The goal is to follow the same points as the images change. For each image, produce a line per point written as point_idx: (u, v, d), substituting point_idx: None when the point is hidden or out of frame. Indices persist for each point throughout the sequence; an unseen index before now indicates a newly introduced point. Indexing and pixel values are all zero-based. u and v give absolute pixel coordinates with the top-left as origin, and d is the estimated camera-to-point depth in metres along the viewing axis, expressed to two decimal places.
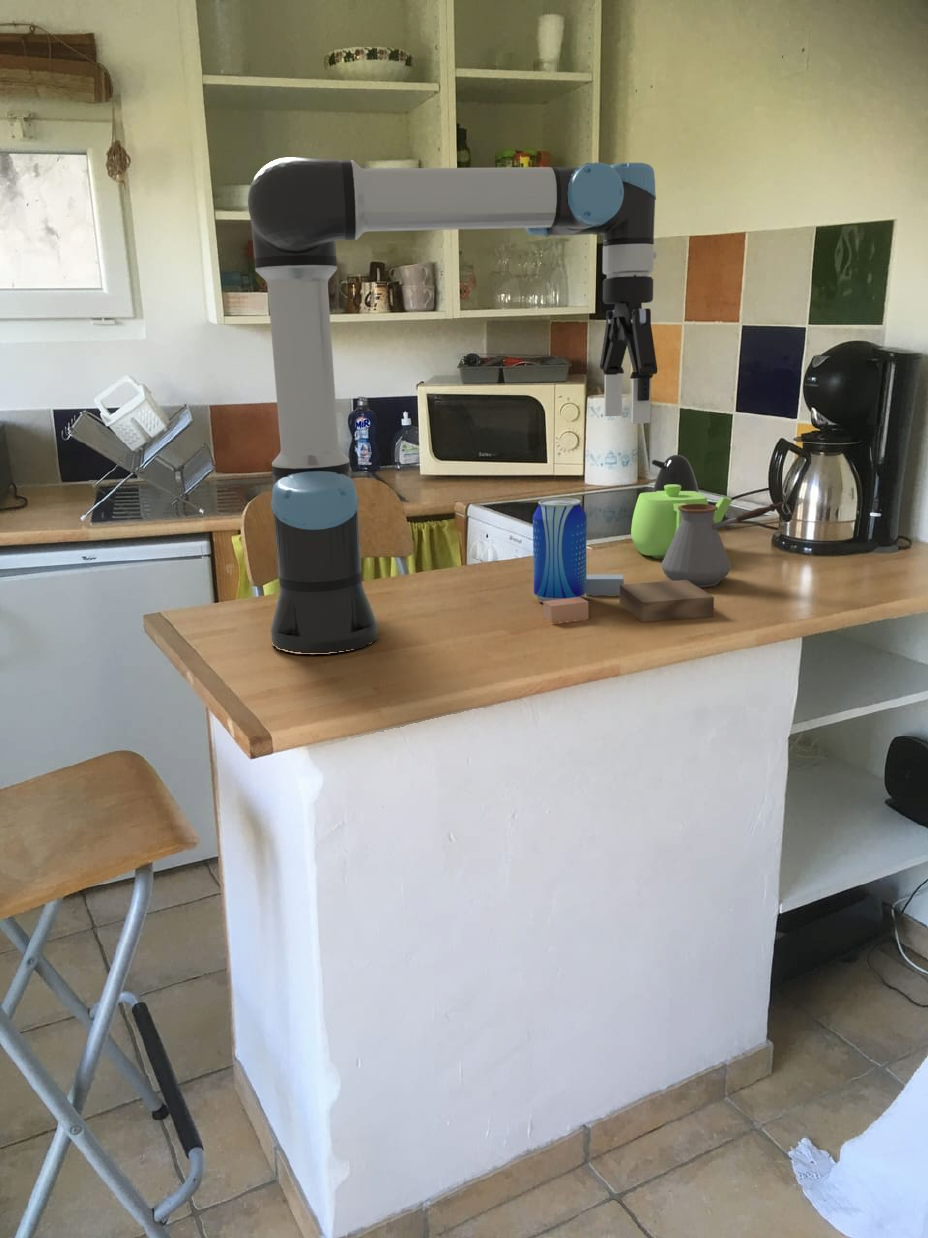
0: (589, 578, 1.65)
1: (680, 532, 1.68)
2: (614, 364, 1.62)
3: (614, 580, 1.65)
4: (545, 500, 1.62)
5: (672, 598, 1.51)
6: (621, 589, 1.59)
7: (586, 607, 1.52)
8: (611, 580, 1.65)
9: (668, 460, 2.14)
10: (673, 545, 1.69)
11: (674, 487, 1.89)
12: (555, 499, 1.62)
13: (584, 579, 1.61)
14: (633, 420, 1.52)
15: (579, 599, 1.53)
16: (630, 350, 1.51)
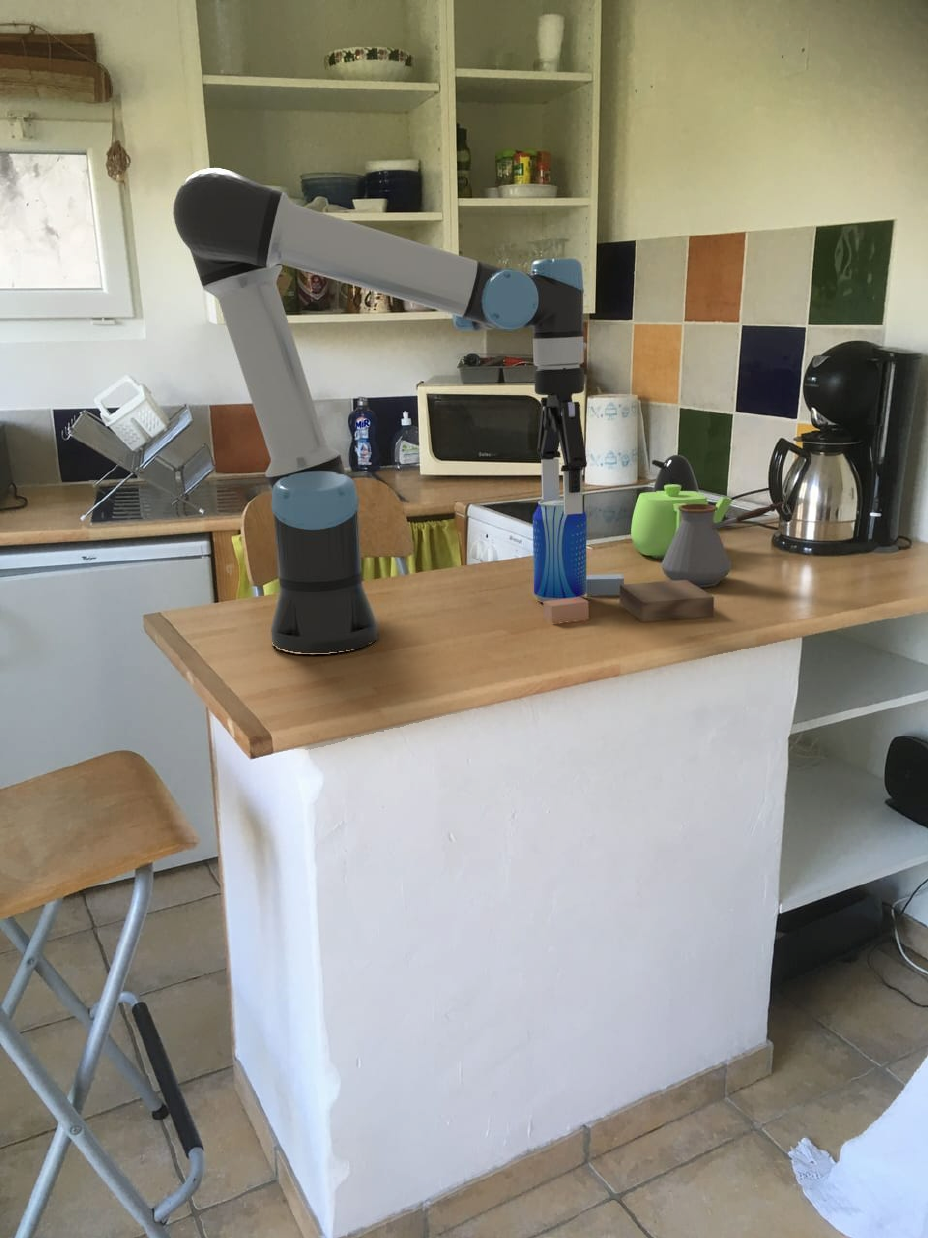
0: (589, 579, 1.65)
1: (680, 532, 1.68)
2: (550, 449, 1.63)
3: (614, 580, 1.65)
4: (545, 500, 1.62)
5: (672, 598, 1.51)
6: (621, 589, 1.59)
7: (586, 607, 1.52)
8: (611, 580, 1.65)
9: (668, 460, 2.14)
10: (673, 545, 1.69)
11: (674, 487, 1.89)
12: (555, 499, 1.62)
13: (584, 579, 1.61)
14: (565, 511, 1.53)
15: (579, 599, 1.53)
16: (561, 442, 1.52)
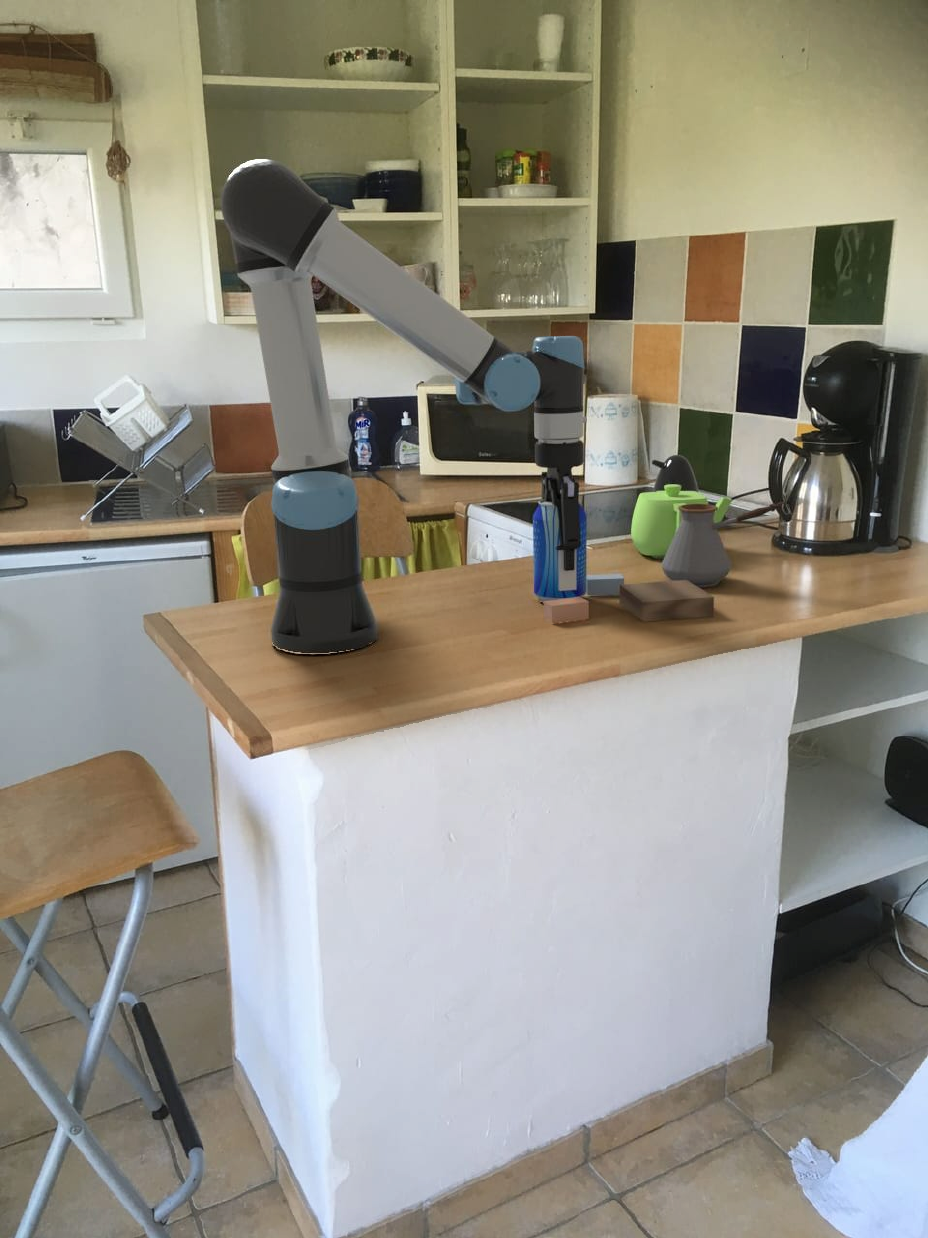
0: (590, 579, 1.65)
1: (680, 532, 1.68)
2: None
3: (615, 580, 1.65)
4: None
5: (672, 598, 1.51)
6: (621, 589, 1.59)
7: (586, 607, 1.52)
8: (612, 580, 1.65)
9: (668, 460, 2.14)
10: (673, 545, 1.69)
11: (674, 487, 1.89)
12: None
13: (584, 579, 1.61)
14: (560, 587, 1.58)
15: (579, 599, 1.53)
16: None
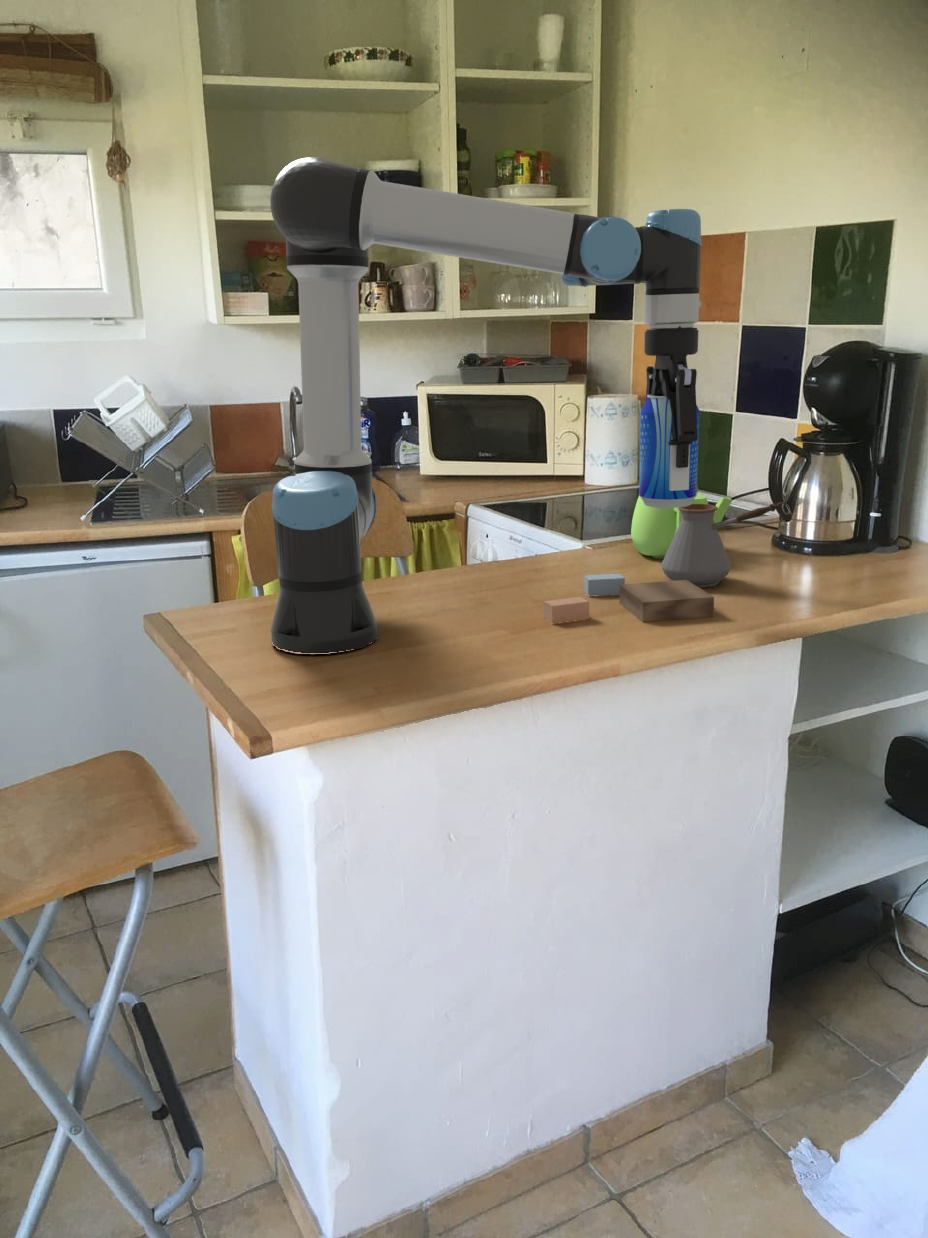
0: (591, 579, 1.65)
1: (680, 532, 1.68)
2: None
3: (616, 579, 1.65)
4: None
5: (672, 598, 1.51)
6: (621, 589, 1.59)
7: (587, 607, 1.52)
8: (613, 580, 1.65)
9: None
10: (673, 545, 1.69)
11: None
12: None
13: (696, 480, 1.49)
14: (671, 487, 1.46)
15: (580, 599, 1.53)
16: (671, 411, 1.44)
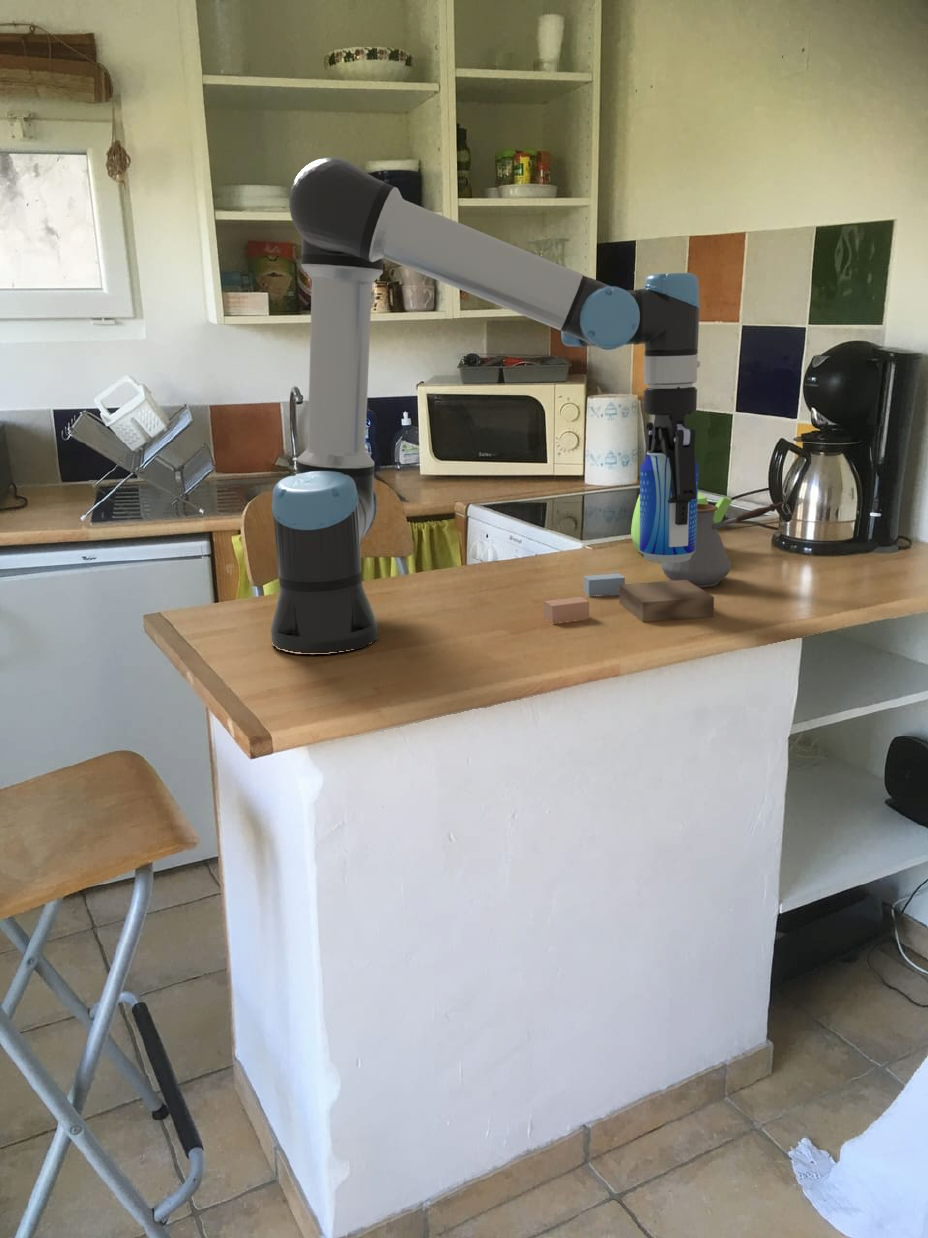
0: (591, 579, 1.65)
1: None
2: None
3: (616, 579, 1.65)
4: None
5: (672, 598, 1.51)
6: (621, 589, 1.59)
7: (587, 607, 1.52)
8: (613, 579, 1.65)
9: None
10: None
11: None
12: None
13: (695, 535, 1.51)
14: (671, 543, 1.49)
15: (580, 599, 1.53)
16: None
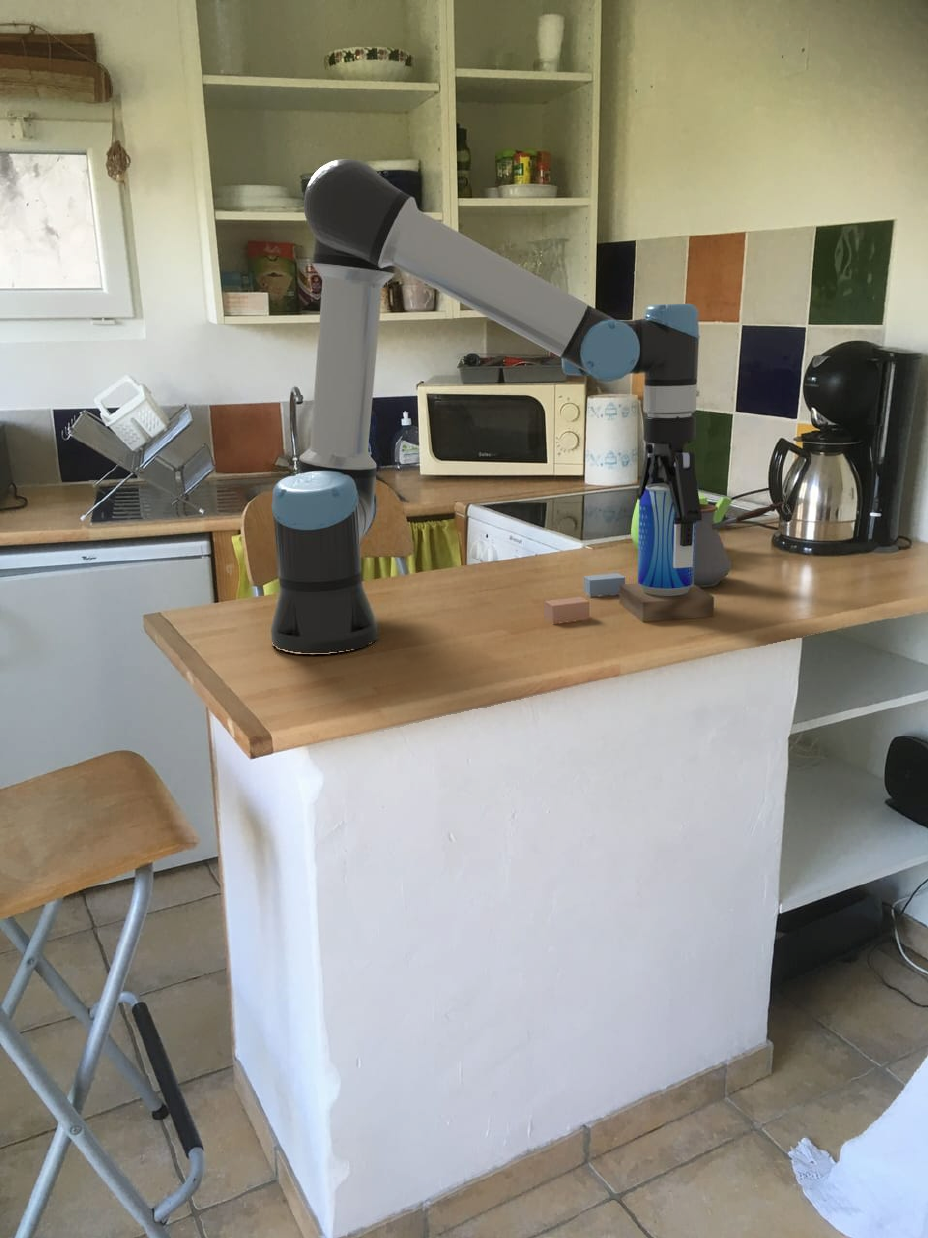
0: (592, 579, 1.64)
1: None
2: None
3: (616, 579, 1.65)
4: (651, 485, 1.53)
5: (672, 598, 1.51)
6: (621, 589, 1.59)
7: (587, 607, 1.52)
8: (613, 579, 1.65)
9: None
10: None
11: None
12: (661, 484, 1.54)
13: (693, 568, 1.53)
14: (675, 565, 1.47)
15: (580, 599, 1.53)
16: (672, 493, 1.46)
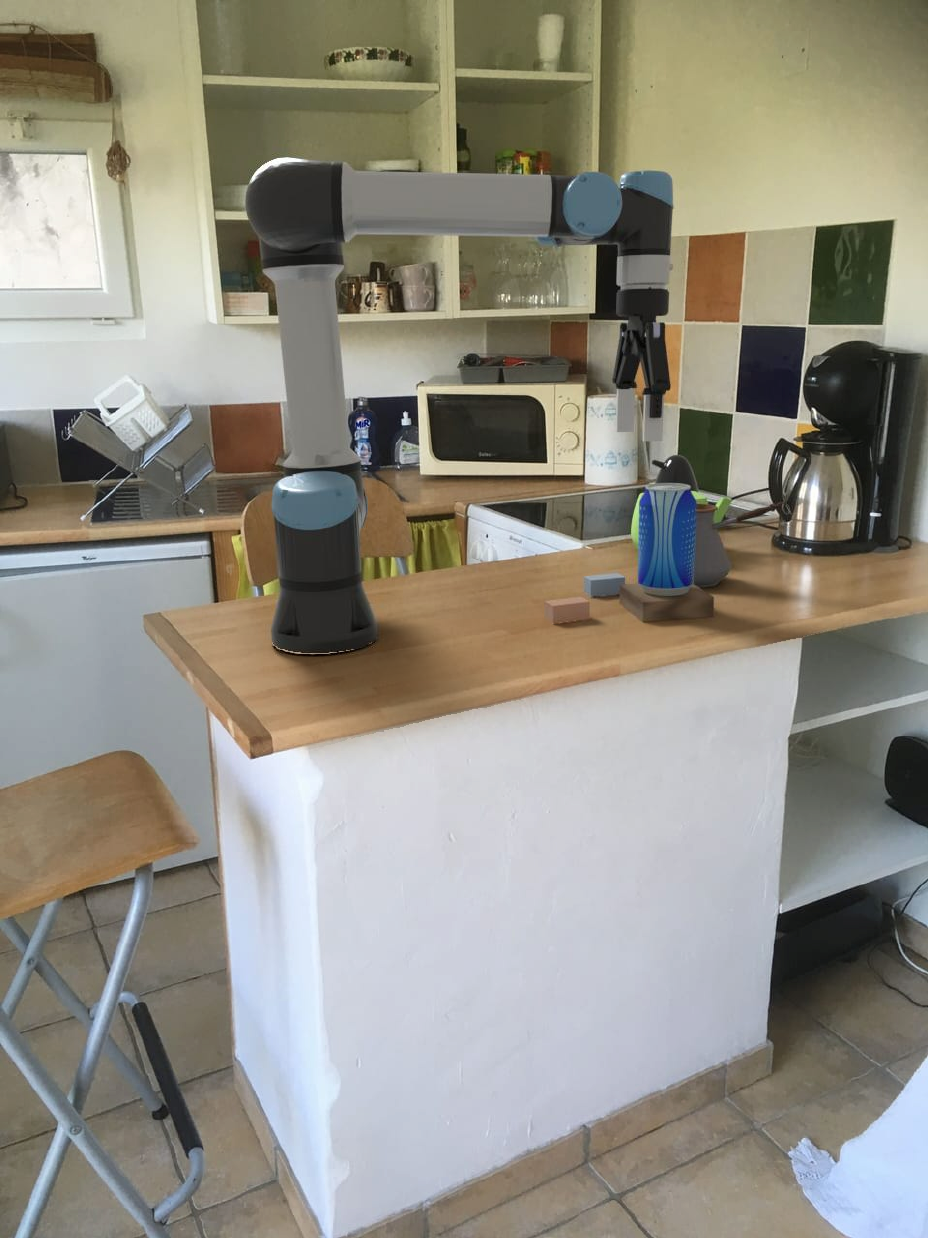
0: (593, 579, 1.64)
1: None
2: (627, 378, 1.57)
3: (616, 579, 1.65)
4: (651, 485, 1.53)
5: (672, 598, 1.51)
6: (621, 589, 1.59)
7: (587, 607, 1.52)
8: (614, 579, 1.65)
9: (668, 460, 2.14)
10: None
11: None
12: (661, 484, 1.54)
13: (693, 568, 1.53)
14: (644, 438, 1.46)
15: (580, 599, 1.53)
16: (643, 365, 1.45)
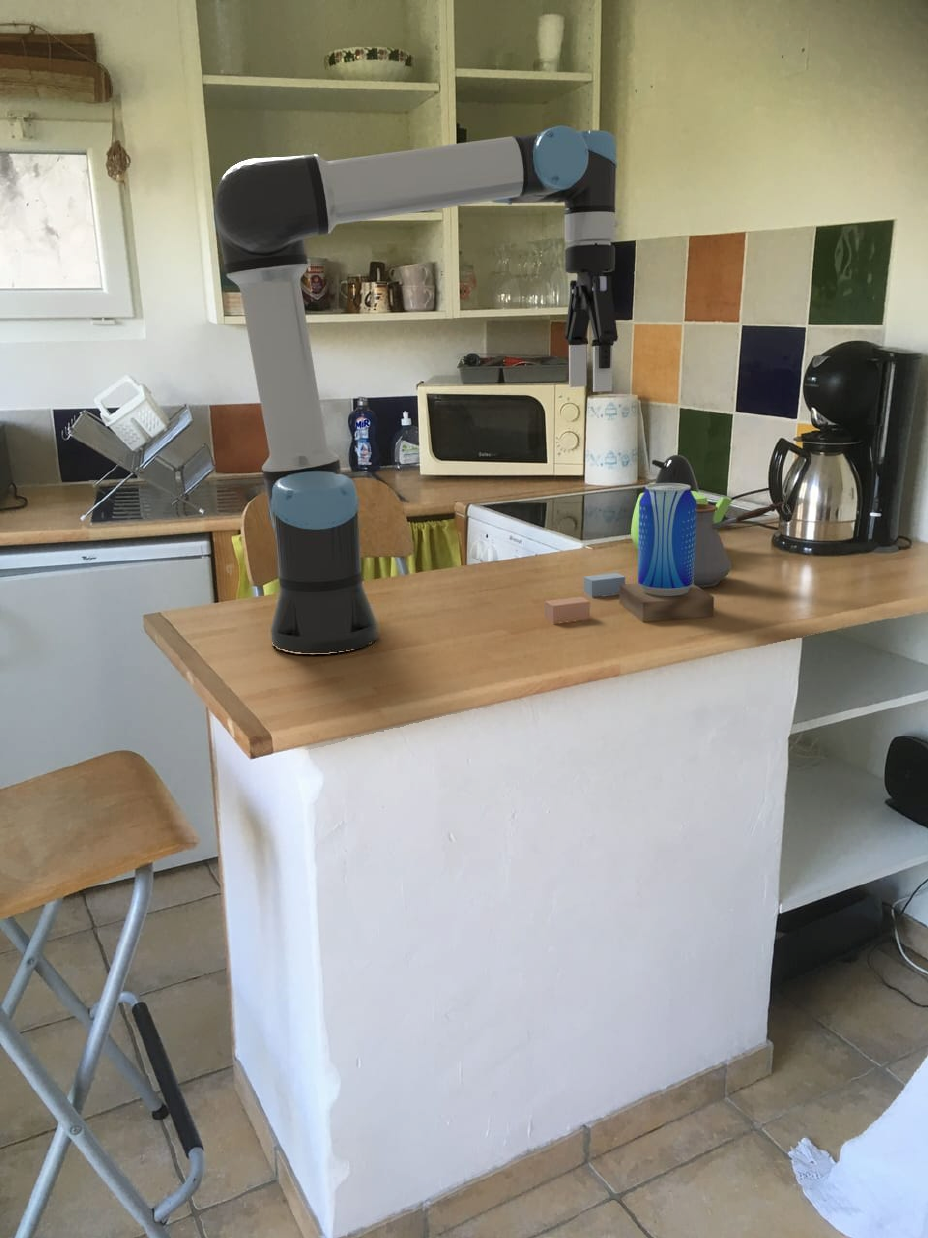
0: (594, 580, 1.64)
1: None
2: (578, 334, 1.63)
3: (617, 579, 1.65)
4: (651, 485, 1.53)
5: (672, 598, 1.51)
6: (621, 589, 1.59)
7: (587, 607, 1.52)
8: (614, 579, 1.65)
9: (668, 460, 2.14)
10: None
11: None
12: (661, 484, 1.54)
13: (693, 568, 1.53)
14: (595, 388, 1.52)
15: (581, 599, 1.53)
16: (591, 318, 1.51)
